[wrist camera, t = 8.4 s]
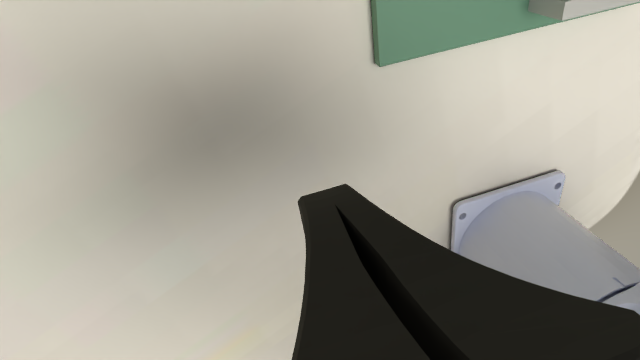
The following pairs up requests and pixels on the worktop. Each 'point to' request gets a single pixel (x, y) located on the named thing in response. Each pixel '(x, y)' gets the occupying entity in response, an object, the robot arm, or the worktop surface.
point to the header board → (465, 22)
